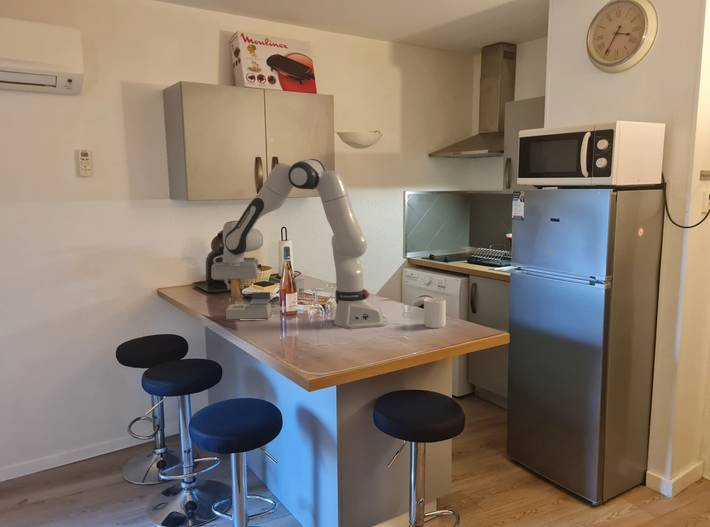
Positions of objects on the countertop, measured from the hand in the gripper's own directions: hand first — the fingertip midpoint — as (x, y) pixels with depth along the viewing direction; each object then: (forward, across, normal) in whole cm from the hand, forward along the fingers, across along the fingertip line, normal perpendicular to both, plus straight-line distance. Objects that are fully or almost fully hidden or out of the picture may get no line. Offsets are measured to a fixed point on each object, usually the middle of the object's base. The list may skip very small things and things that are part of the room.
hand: (235, 288), depth 238 cm
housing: (+13, -5, 0) cm, 14 cm away
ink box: (+13, -23, -27) cm, 38 cm away
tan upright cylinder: (+4, 0, 0) cm, 4 cm away
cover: (+8, -9, -7) cm, 14 cm away
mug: (+12, -85, +22) cm, 89 cm away
